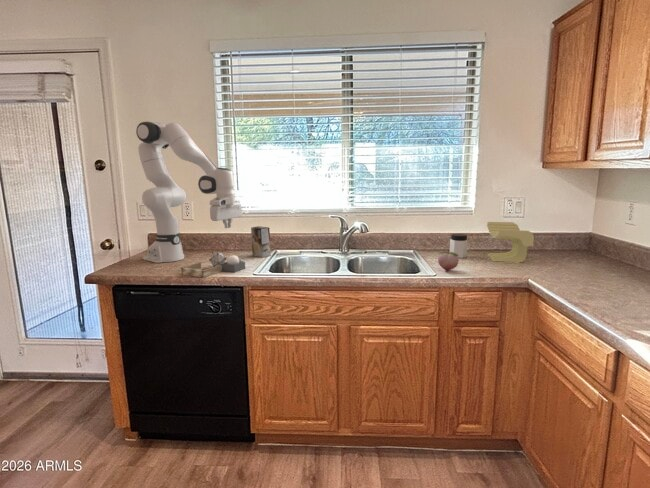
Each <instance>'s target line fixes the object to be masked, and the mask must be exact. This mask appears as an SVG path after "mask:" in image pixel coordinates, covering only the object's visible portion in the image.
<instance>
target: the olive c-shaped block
mask: <svg viewBox="0 0 650 488" xmlns="http://www.w3.org/2000/svg"><path fill="white" fill-rule="evenodd" d="M486 225H487V226H486V227H487V230H488V233H489V235H490V236H491V237H492V238H493V239H497V240H498V239H499V240H509V241H511V244H512V245H511V246H512V248H511V250H510V251H507V252H498V253H497V252H496V253H495V252H494V253H493V252H489V253H488V254H487V257H488V256H489V257H490V258H491V259H490V258H489V257H488V258H489V259H490V260H491V262H492V261H513V262H521V263H523V262H524V261H525V260H526V258H527V255H528V248H529V247H534V244H535V243H534V240H535V237H534V234H533V233H532V232H531V231H529V230H521V229H520V228H519V225H518V224H517V223H515V222H510V221H487V224H486Z"/></svg>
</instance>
